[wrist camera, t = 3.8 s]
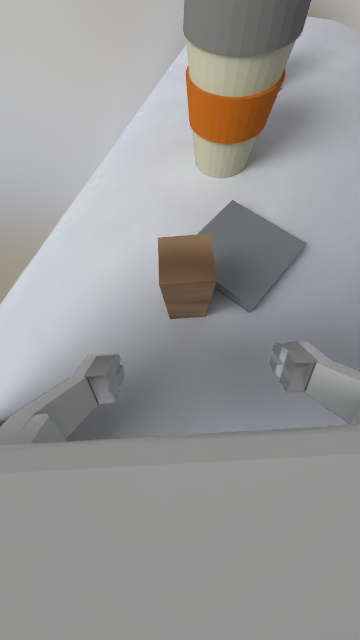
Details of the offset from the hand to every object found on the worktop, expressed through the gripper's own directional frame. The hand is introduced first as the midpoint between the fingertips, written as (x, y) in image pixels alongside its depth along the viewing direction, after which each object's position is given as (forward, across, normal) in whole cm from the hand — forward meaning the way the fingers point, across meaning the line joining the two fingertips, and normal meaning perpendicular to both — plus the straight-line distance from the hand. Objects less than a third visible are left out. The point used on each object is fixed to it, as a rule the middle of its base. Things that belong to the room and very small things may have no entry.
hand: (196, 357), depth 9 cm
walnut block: (+14, 0, +2) cm, 14 cm away
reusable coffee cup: (+33, -8, -16) cm, 37 cm away
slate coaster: (+18, -8, -2) cm, 20 cm away
